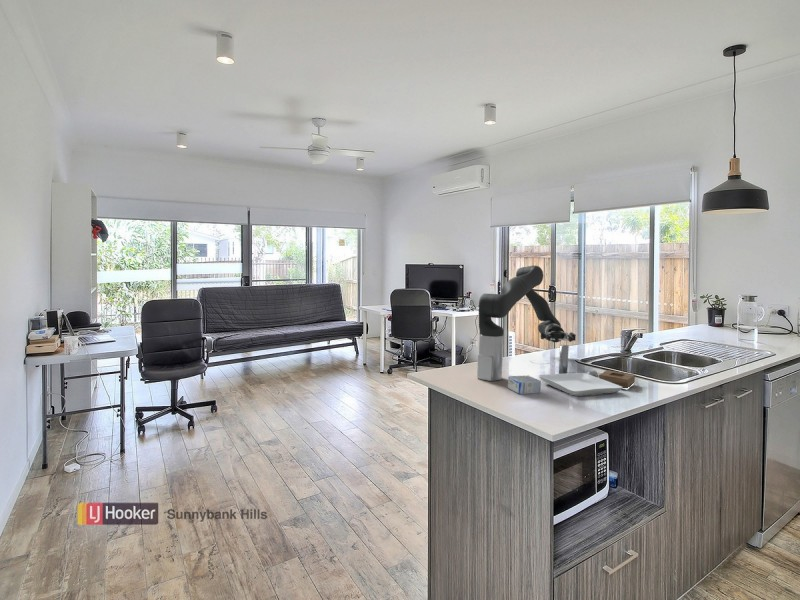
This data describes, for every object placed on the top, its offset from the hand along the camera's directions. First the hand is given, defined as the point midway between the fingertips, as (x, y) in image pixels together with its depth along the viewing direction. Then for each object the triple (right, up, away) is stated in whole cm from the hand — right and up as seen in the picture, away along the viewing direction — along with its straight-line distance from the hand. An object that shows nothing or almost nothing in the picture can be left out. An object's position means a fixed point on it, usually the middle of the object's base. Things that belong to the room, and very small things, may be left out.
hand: (560, 339), depth 191 cm
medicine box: (-19, -14, -28) cm, 36 cm away
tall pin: (-2, -15, -10) cm, 18 cm away
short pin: (+7, -14, -13) cm, 20 cm away
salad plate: (-2, -17, -25) cm, 30 cm away
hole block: (+15, -16, -19) cm, 29 cm away
